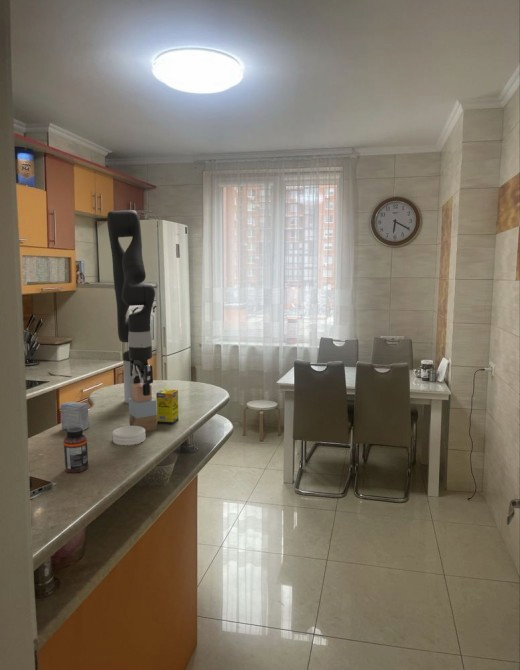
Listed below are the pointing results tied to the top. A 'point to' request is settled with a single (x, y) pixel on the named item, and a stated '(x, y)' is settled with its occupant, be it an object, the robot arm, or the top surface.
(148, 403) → the tower top block
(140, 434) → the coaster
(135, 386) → the cube
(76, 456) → the supplement bottle
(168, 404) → the supplement box
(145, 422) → the tower base block
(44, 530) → the top surface
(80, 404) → the medicine box
